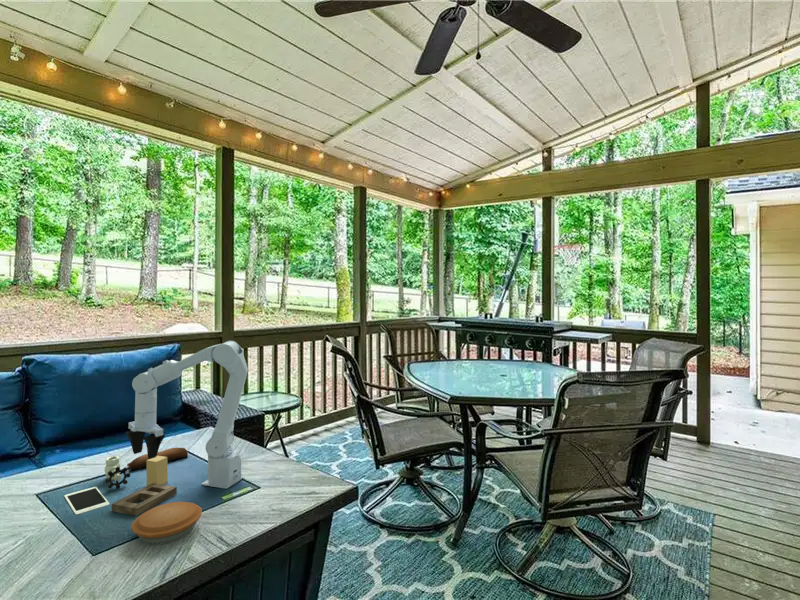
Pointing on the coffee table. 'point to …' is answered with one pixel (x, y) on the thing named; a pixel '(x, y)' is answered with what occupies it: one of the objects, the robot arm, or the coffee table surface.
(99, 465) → the coffee table surface
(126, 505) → the socket block
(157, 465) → the square peg
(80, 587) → the coffee table surface
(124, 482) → the valve
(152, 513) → the pie
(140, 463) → the sunglasses case
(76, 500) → the cell phone
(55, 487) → the coffee table surface
